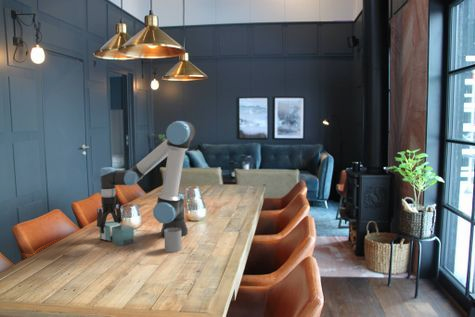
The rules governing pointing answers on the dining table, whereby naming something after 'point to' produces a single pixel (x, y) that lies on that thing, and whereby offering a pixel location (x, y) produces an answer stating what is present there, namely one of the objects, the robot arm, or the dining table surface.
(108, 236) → the block
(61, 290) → the dining table surface
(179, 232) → the cup
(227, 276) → the dining table surface
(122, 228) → the teal stepped block
